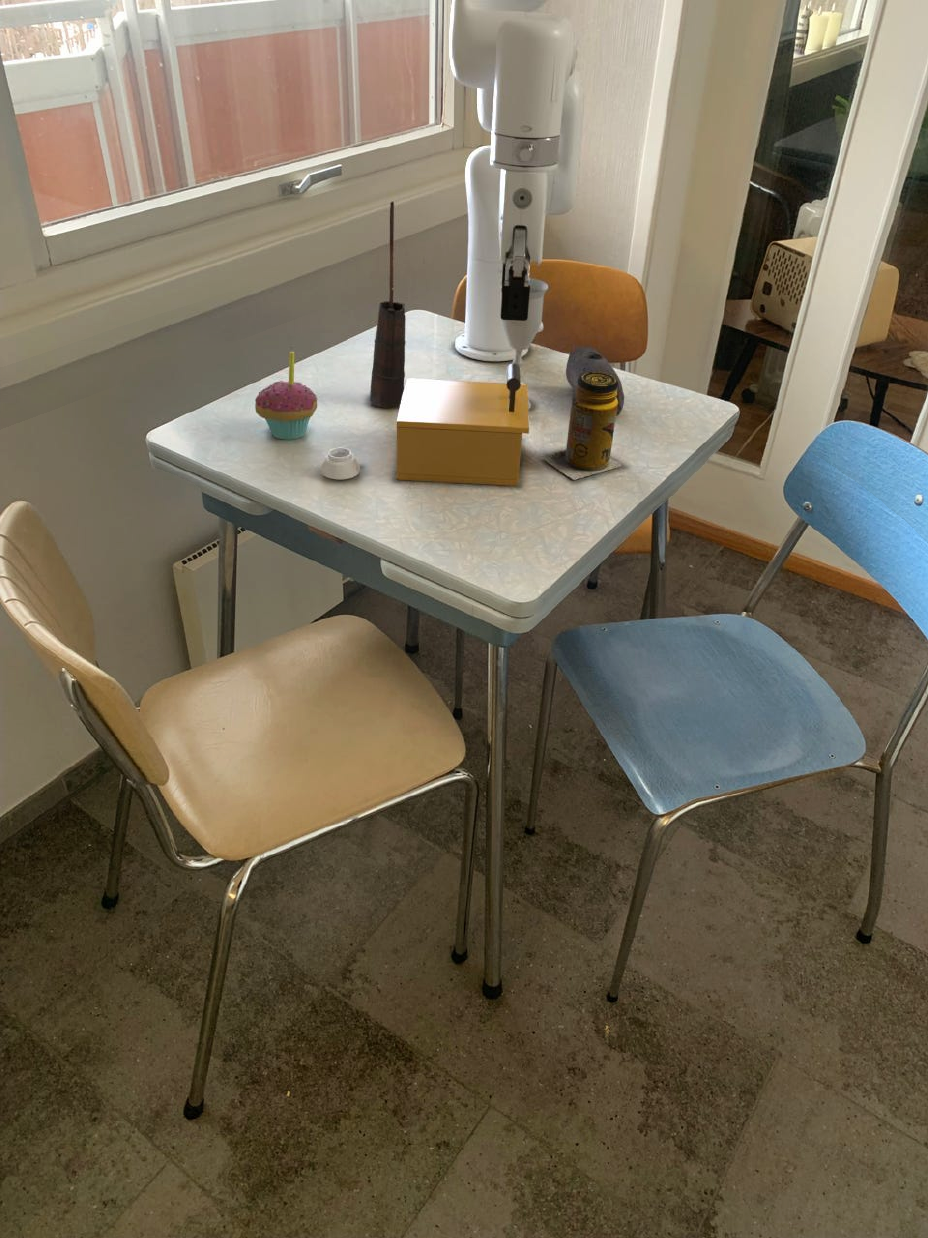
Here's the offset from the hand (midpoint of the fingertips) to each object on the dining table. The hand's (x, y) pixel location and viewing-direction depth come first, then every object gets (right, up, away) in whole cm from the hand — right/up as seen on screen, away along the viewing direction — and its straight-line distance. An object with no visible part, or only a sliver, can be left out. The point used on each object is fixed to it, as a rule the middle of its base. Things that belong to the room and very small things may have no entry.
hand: (513, 306), depth 112 cm
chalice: (+2, -6, +28) cm, 29 cm away
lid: (-6, -10, +9) cm, 15 cm away
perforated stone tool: (+14, -5, +29) cm, 33 cm away
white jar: (-22, -19, +8) cm, 31 cm away
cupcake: (-31, -12, +17) cm, 37 cm away
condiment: (+10, -17, +13) cm, 24 cm away
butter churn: (-18, -6, +26) cm, 32 cm away
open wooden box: (-7, -16, +13) cm, 22 cm away
